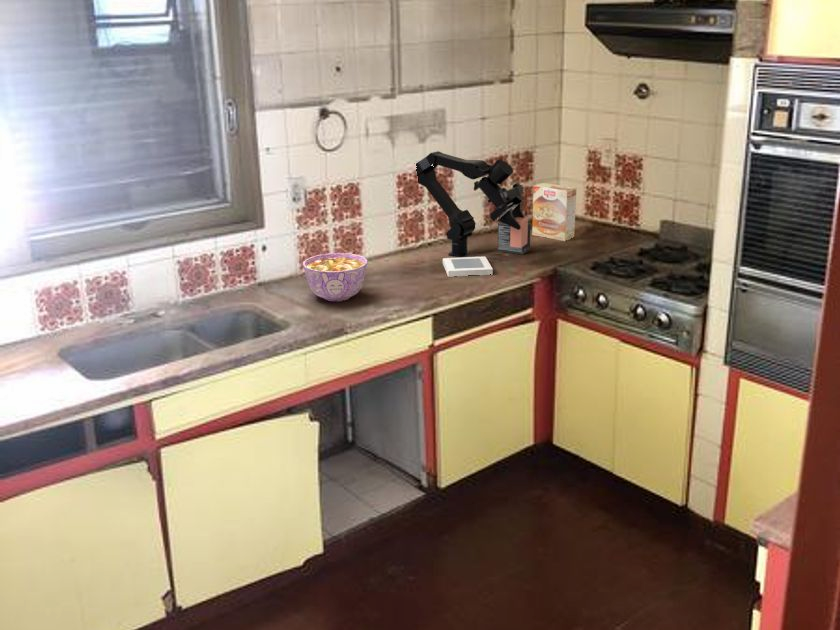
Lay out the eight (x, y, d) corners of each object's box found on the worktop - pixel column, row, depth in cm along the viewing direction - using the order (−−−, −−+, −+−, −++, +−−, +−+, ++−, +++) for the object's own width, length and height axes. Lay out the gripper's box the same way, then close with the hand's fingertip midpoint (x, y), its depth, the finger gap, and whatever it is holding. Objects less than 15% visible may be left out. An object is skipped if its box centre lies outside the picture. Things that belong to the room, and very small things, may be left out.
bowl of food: (335, 312, 277) (333, 275, 273) (291, 298, 289) (289, 263, 285) (381, 296, 290) (380, 260, 286) (338, 283, 303) (337, 249, 299)
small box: (530, 250, 336) (531, 222, 332) (522, 255, 331) (523, 226, 327) (505, 246, 341) (505, 219, 338) (496, 251, 336) (497, 223, 332)
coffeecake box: (531, 235, 356) (532, 185, 349) (541, 231, 361) (543, 182, 354) (564, 241, 346) (567, 190, 340) (574, 237, 352) (577, 187, 345)
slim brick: (516, 242, 321) (517, 216, 318) (527, 243, 320) (528, 218, 317) (510, 246, 316) (510, 220, 313) (521, 247, 315) (521, 222, 312)
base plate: (442, 263, 322) (442, 257, 321) (485, 261, 323) (485, 255, 323) (448, 276, 308) (448, 270, 307) (492, 274, 309) (492, 268, 309)
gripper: (499, 182, 304) (529, 218, 303) (519, 171, 319) (548, 206, 319) (476, 203, 310) (506, 238, 309) (497, 192, 325) (526, 225, 325)
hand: (523, 226), depth 315 cm, fingers closed on slim brick, 6 cm apart
